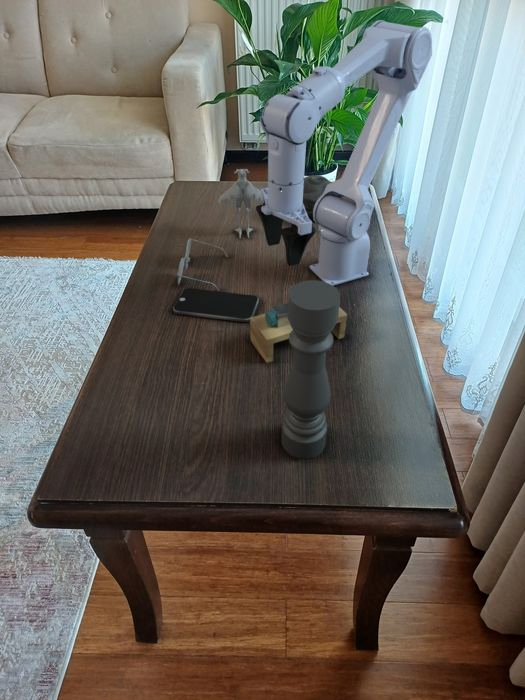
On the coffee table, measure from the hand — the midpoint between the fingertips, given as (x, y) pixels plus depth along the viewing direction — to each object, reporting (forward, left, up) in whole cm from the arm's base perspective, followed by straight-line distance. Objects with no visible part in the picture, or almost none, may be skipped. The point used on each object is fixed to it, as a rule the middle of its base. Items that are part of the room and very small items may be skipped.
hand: (283, 253), depth 92 cm
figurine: (-4, -27, -11) cm, 29 cm away
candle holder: (+13, +31, -11) cm, 35 cm away
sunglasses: (+10, -16, -11) cm, 22 cm away
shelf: (+3, +11, -10) cm, 15 cm away
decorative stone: (-22, -27, -11) cm, 37 cm away
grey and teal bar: (+3, +11, -5) cm, 13 cm away
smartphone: (+12, -4, -10) cm, 16 cm away
